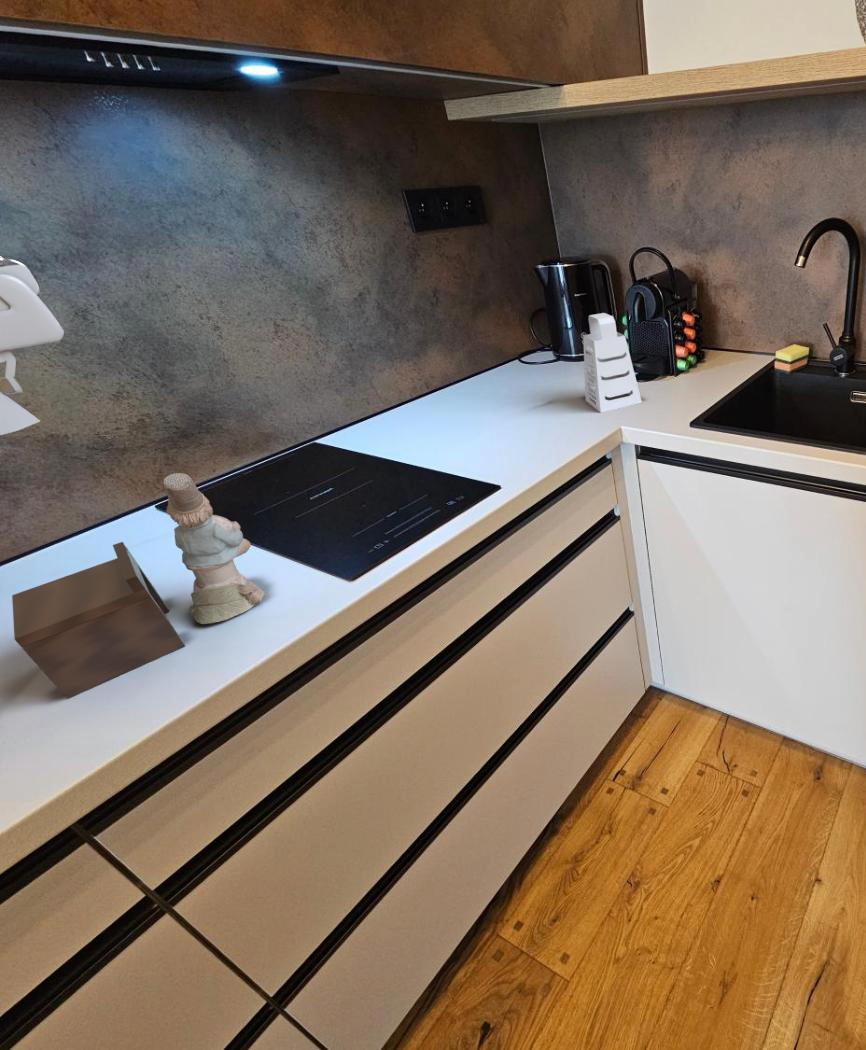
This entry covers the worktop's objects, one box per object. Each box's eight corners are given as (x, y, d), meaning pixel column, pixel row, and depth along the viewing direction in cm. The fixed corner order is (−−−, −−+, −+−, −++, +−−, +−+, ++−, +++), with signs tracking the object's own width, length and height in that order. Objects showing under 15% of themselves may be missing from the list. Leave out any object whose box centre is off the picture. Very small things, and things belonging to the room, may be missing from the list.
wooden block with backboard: (67, 699, 66) (2, 626, 60) (60, 651, 73) (1, 582, 68) (185, 646, 73) (136, 576, 67) (167, 607, 80) (122, 541, 74)
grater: (600, 412, 135) (586, 323, 125) (585, 400, 143) (571, 316, 133) (642, 402, 139) (631, 315, 129) (625, 391, 147) (614, 308, 137)
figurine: (261, 615, 77) (182, 480, 67) (187, 632, 75) (93, 495, 64) (279, 578, 84) (210, 451, 74) (211, 593, 82) (131, 464, 72)
